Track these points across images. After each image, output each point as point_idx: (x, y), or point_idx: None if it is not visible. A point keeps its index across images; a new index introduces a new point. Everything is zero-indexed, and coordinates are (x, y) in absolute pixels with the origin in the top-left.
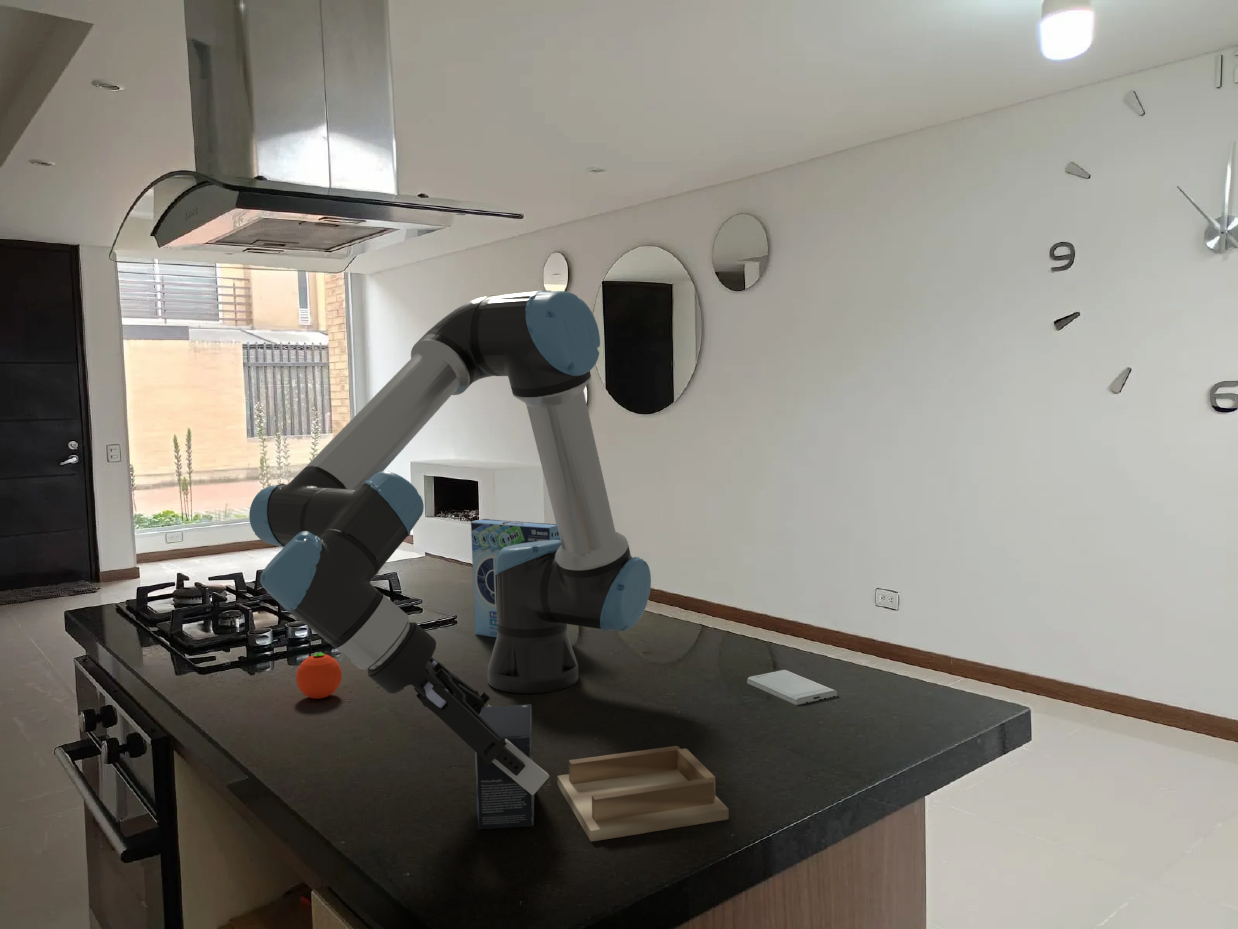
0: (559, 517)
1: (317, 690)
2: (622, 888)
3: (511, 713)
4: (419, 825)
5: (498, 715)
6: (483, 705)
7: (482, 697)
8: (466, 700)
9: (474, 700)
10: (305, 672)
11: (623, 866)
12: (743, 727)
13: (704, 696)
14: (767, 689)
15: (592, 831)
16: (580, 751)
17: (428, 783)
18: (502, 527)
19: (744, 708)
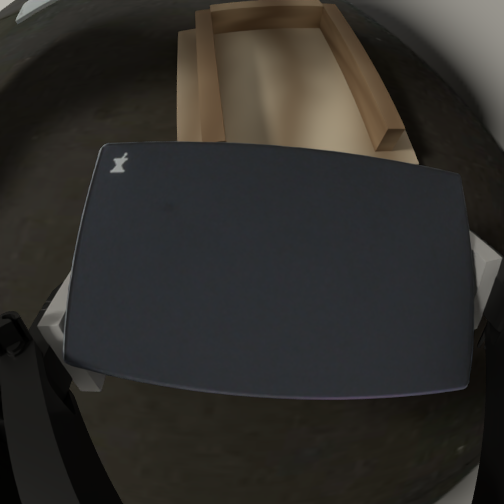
0: None
1: None
2: (499, 166)
3: (197, 221)
4: (311, 471)
5: (207, 290)
6: (38, 347)
7: (4, 346)
8: (77, 453)
9: (53, 402)
10: None
11: (462, 150)
12: (102, 6)
13: (14, 46)
14: (43, 6)
15: (416, 161)
16: (62, 156)
17: (119, 451)
18: None
19: (61, 13)
